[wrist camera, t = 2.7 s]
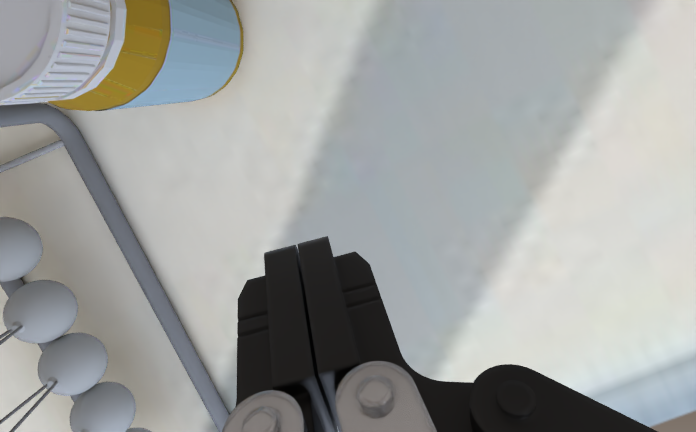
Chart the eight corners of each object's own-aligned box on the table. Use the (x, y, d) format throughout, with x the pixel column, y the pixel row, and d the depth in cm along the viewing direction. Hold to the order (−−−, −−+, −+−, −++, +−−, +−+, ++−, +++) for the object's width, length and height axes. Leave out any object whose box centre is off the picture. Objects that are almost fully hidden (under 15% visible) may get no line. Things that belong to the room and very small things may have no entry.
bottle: (133, 96, 27) (-142, 112, 13) (124, -33, 25) (-212, -181, 11) (246, 104, 27) (91, 130, 13) (247, -26, 25) (63, -170, 11)
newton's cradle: (-66, 156, 30) (-676, 259, 13) (66, 98, 28) (-435, 124, 11) (147, 501, 37) (-56, 864, 20) (263, 472, 35) (149, 842, 18)
